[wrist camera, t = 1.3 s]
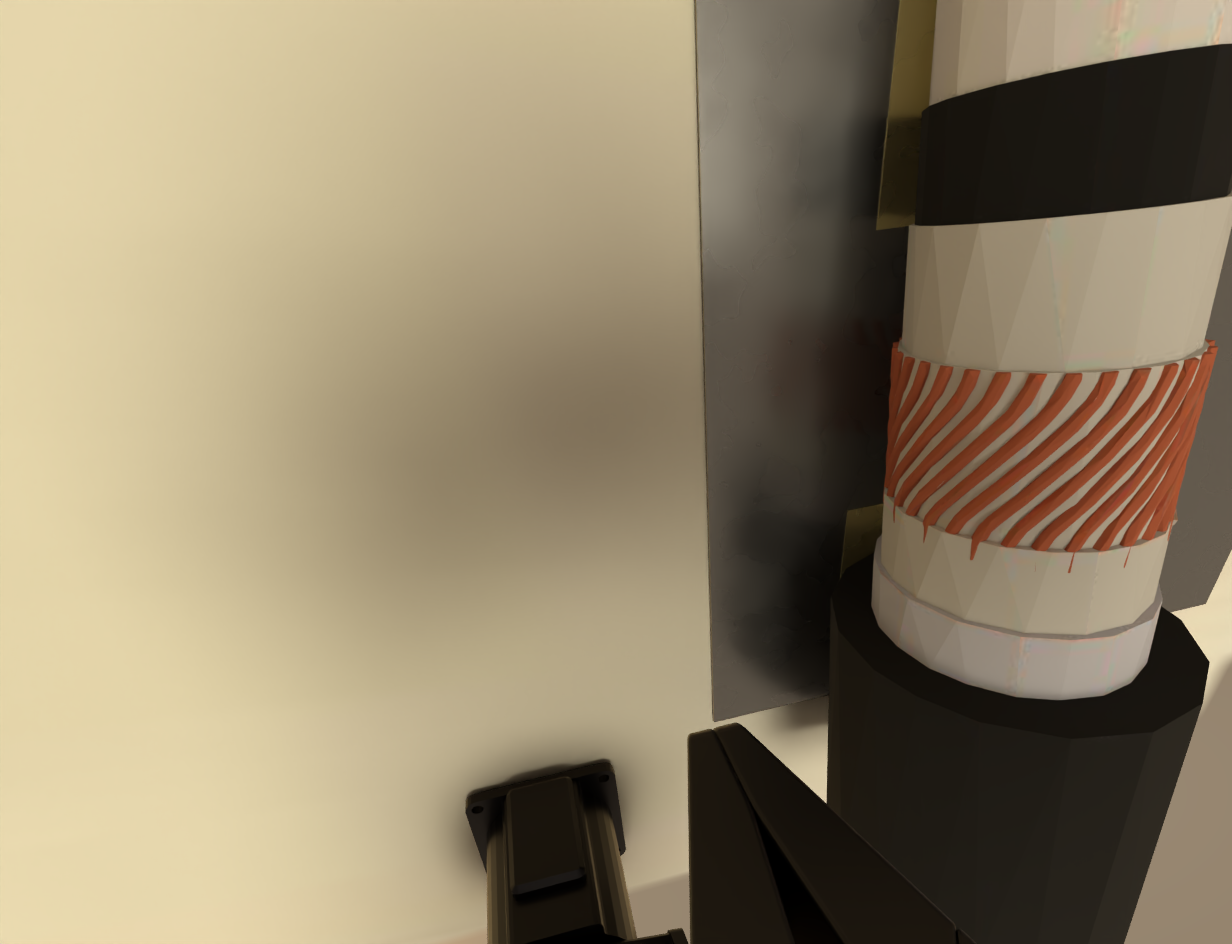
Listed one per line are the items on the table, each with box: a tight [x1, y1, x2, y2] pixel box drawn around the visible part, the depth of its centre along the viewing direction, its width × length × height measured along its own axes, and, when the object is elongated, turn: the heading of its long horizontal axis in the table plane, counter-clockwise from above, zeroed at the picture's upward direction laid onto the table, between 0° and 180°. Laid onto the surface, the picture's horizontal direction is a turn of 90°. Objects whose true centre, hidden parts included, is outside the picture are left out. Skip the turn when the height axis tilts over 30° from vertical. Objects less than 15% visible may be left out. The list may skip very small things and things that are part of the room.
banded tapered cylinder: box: [827, 0, 1232, 944], centre depth 17 cm, size 10×34×10 cm, turn 3°
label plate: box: [695, 0, 1232, 722], centre depth 22 cm, size 30×26×1 cm
